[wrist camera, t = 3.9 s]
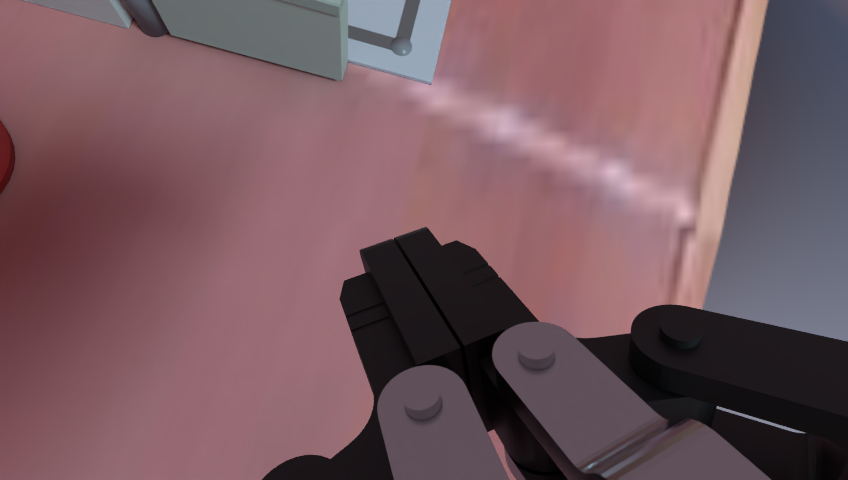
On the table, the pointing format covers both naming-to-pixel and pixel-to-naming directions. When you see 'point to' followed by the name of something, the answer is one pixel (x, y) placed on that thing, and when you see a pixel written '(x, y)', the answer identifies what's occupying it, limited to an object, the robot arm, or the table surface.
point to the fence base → (114, 12)
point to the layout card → (397, 35)
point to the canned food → (6, 157)
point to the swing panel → (267, 30)
